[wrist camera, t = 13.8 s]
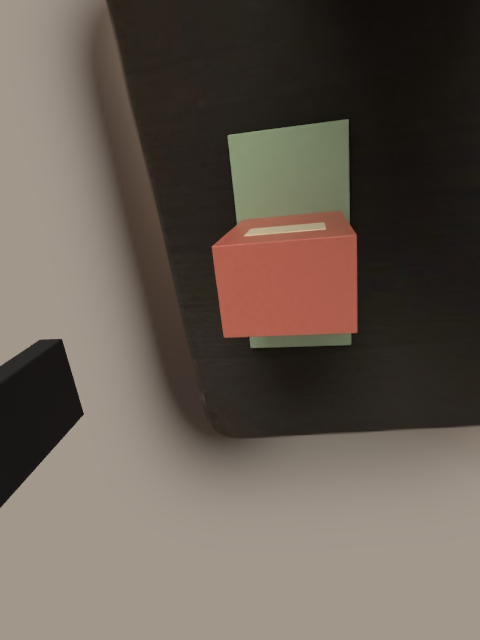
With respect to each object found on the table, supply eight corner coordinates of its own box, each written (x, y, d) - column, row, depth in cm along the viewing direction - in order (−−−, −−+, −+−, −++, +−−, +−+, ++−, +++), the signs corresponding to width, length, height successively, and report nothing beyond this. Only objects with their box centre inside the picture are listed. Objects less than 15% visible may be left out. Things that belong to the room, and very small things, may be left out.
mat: (229, 135, 28) (227, 135, 27) (347, 120, 26) (348, 118, 26) (251, 344, 34) (250, 348, 33) (350, 341, 32) (351, 345, 31)
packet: (242, 218, 29) (211, 245, 20) (341, 209, 28) (356, 233, 19) (249, 286, 31) (223, 339, 22) (342, 280, 30) (357, 334, 20)
